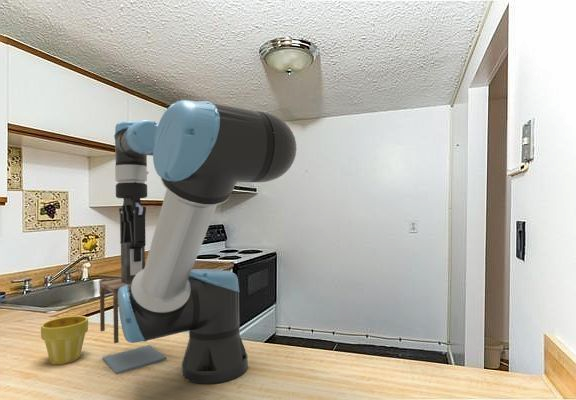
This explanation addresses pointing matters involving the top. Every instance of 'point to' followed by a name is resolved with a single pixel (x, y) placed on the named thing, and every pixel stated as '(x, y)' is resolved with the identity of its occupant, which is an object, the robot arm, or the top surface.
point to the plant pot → (64, 338)
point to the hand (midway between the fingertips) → (132, 273)
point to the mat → (133, 359)
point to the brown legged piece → (118, 286)
